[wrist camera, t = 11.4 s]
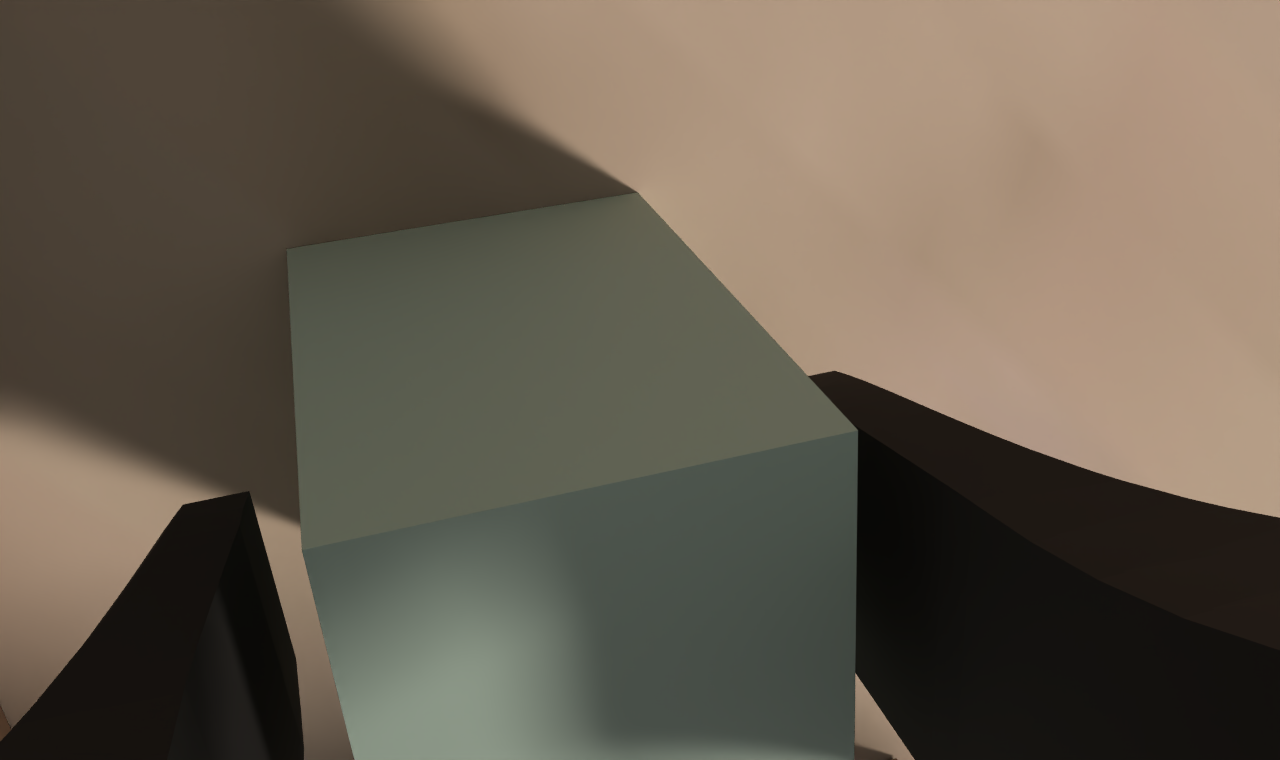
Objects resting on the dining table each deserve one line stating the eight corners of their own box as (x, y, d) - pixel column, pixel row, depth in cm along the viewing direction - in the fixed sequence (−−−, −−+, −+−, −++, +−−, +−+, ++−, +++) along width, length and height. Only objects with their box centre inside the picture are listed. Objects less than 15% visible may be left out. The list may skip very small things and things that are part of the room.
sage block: (659, 481, 16) (853, 819, 11) (354, 548, 15) (401, 951, 10) (636, 191, 14) (858, 430, 9) (285, 248, 13) (302, 550, 8)
